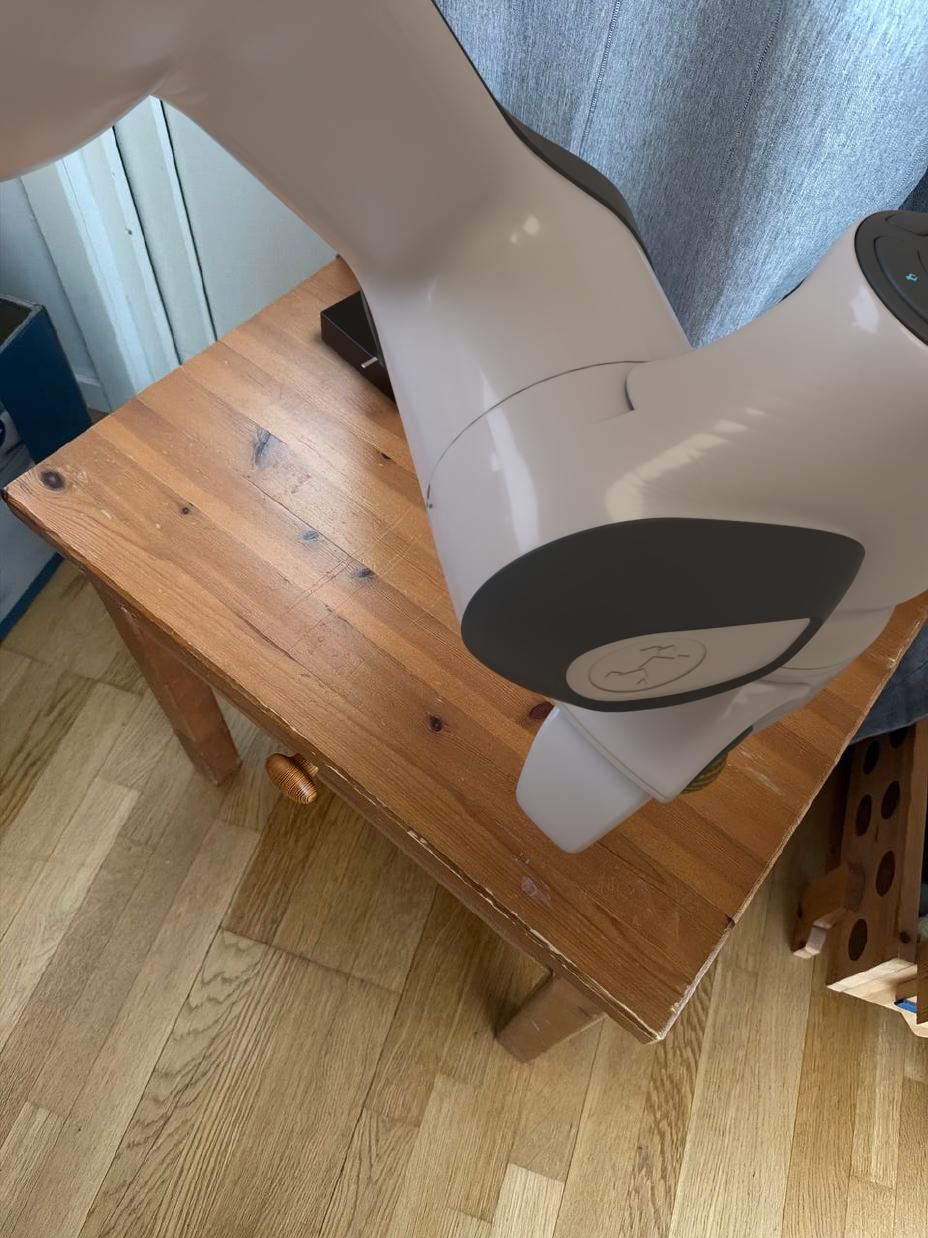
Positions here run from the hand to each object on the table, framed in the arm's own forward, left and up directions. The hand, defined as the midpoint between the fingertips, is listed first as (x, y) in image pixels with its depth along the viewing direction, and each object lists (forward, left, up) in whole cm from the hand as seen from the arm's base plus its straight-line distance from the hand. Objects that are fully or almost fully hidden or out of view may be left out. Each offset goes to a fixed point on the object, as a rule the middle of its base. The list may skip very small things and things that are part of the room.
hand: (648, 735), depth 48 cm
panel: (+19, +39, -12) cm, 45 cm away
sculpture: (0, 0, -3) cm, 3 cm away
